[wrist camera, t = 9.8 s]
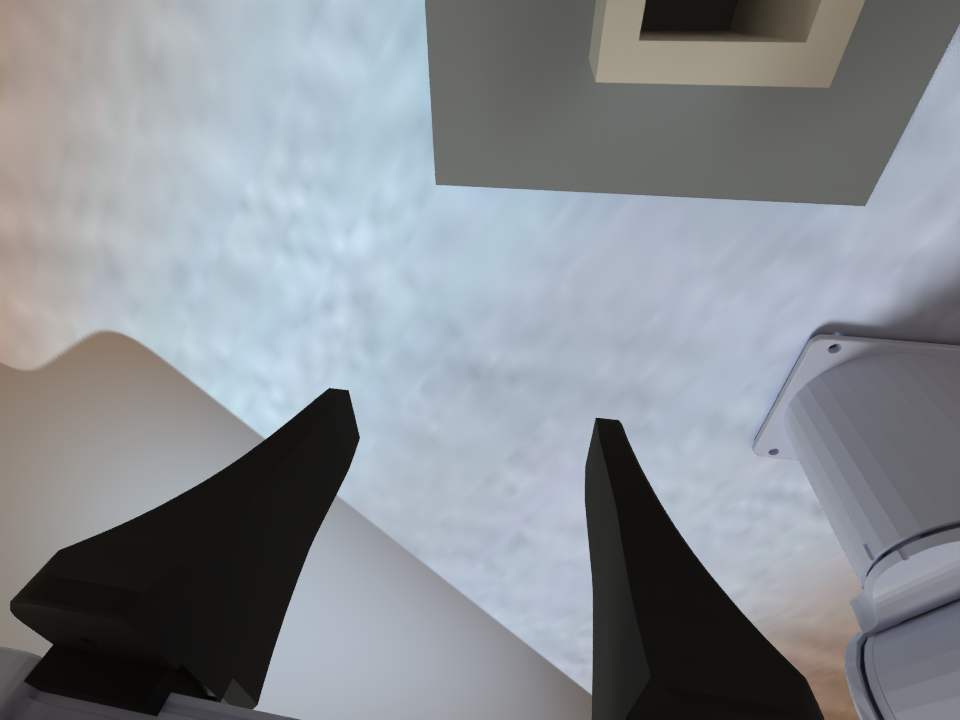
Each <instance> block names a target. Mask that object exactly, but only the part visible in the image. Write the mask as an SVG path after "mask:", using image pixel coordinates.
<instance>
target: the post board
mask: <svg viewBox="0 0 960 720" xmlns="http://www.w3.org/2000/svg"><path fill="white" fill-rule="evenodd" d="M737 1H738V0H646V2H645V7H644V13H643V19H642V24H641V30H730V27H731V23H732V20H733V16H734V12H735V9H736V5H737ZM595 4H596V0H425V9H426V26H427V43H428V60H429V77H430V94H431V111H432V128H433V145H434V162H435V179H436V185H452V186H472V187H492V188H512V189H532V190H553V191H573V192H593V193H613V194H633V195H653V196H673V197H693V198H713V199H733V200H753V201H774V202H794V203H814V204H834V205H854V206H865V205H866V203H867V201H868V199H869V198H870V196H871V194H872V192H873V190H874V188H875V186H876V184H877V182H878V180H879V178H880V176H881V174H882V172H883V171H884V169H885V167H886V165H887V163H888V161H889V159H890V157H891V155H892V153H893V151H894V149H895V147H896V145H897V143H898V142H899V140H900V138H901V136H902V134H903V132H904V130H905V128H906V126H907V124H908V122H909V120H910V118H911V116H912V115H913V113H914V111H915V109H916V107H917V105H918V103H919V101H920V99H921V97H922V95H923V93H924V91H925V89H926V88H927V86H928V84H929V82H930V80H931V78H932V76H933V74H934V72H935V70H936V68H937V66H938V64H939V62H940V61H941V59H942V57H943V55H944V53H945V51H946V49H947V47H948V45H949V43H950V41H951V39H952V37H953V35H954V34H955V32H956V30H957V28H958V26H959V24H960V0H865V2H864V4H863V7H862V9H861V12H860V14H859V17H858V19H857V22H856V24H855V27H854V29H853V31H852V34H851V36H850V39H849V41H848V44H847V46H846V49H845V51H844V53H843V56H842V58H841V61H840V63H839V66H838V68H837V71H836V73H835V75H834V78H833V80H832V83H831V85H830V88H815V87H772V86H729V85H687V84H644V83H601V82H595V79H594V75H593V72H592V68H591V65H590V62H589V52H590V44H591V36H592V28H593V20H594V12H595Z"/></svg>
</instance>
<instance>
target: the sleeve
mask: <svg viewBox="0 0 960 720" xmlns="http://www.w3.org/2000/svg"><path fill="white" fill-rule="evenodd" d="M645 2H646V0H596V4H595V12H594V20H593V28H592V36H591V44H590V52H589V62H590V65H591V68H592V72H593V75H594V79H595V82H601V83H644V84H687V85H729V86H772V87H815V88H830V85H831V83H832V80H833V78H834V75H835V73H836V71H837V68H838V66H839V63H840V61H841V58H842V56H843V53H844V51H845V49H846V46H847V44H848V41H849V39H850V36H851V34H852V31H853V29H854V27H855V24H856V22H857V19H858V17H859V14H860V12H861V9H862V7H863V4H864V2H865V0H738V1H737V5H736V9H735V12H734V16H733V20H732V23H731V27H730V30H641V24H642V19H643V13H644V7H645Z"/></svg>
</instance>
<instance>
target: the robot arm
mask: <svg viewBox="0 0 960 720" xmlns="http://www.w3.org/2000/svg"><path fill="white" fill-rule="evenodd" d="M833 344H837V345H836V346H835V347H833V348H829V347H830V346H831V345H833ZM359 439H360V437H359V432H358V428H357V424H356V420H355V415H354V411H353V407H352V403H351V399H350V394H349V390H341V389H332V388H329V389H328V390H326V391H325V392H324V393H323V394H321V395H320V396H319V397H318V398H316V399H315V400H314V401H313V402H312V403H310V404H309V405H308V406H307V407H306V408H304V409H303V410H302V411H301V412H300V413H298V414H297V415H296V416H295V417H293V418H292V419H291V420H290V421H289V422H287V423H286V424H285V425H284V426H282V427H281V428H280V429H279V430H277V431H276V432H275V433H273V434H272V435H271V436H270V437H268V438H267V439H266V440H264V441H263V442H262V443H260V444H259V445H258V446H256V447H255V448H253V449H252V450H251V451H249V452H248V453H247V454H245V455H244V456H243V457H241V458H240V459H238V460H237V461H235V462H234V463H232V464H231V465H229V466H228V467H226V468H225V469H223V470H222V471H220V472H218V473H217V474H215V475H214V476H212V477H210V478H209V479H207V480H206V481H204V482H202V483H200V484H199V485H197V486H195V487H193V488H192V489H190V490H188V491H186V492H184V493H183V494H181V495H179V496H178V497H176V498H173V499H172V500H170V501H168V502H166V503H164V504H163V505H161V506H159V507H157V508H155V509H153V510H151V511H148V512H146V513H144V514H142V515H140V516H139V517H136V518H134V519H132V520H130V521H128V522H125V523H123V524H121V525H119V526H117V527H114V528H112V529H110V530H108V531H105V532H103V533H101V534H98V535H96V536H93V537H91V538H88V539H86V540H83V541H81V542H79V543H76V544H74V545H71V546H69V547H66V548H64V549H61V550H59V551H58V552H57V553H56V554H55V555H54V556H53V557H52V558H51V559H50V560H49V561H48V562H47V564H45V566H44V567H43V568H42V569H41V570H40V571H39V572H38V573H37V574H36V575H35V576H34V577H33V578H32V579H31V580H30V581H29V582H28V584H27V585H26V586H25V587H24V588H23V589H22V590H21V591H20V592H19V593H18V594H17V595H16V596H15V597H14V598H13V599H12V600H11V602H10V610H11V612H12V613H13V615H14V616H15V617H16V618H18V619H19V620H20V621H21V622H22V623H24V624H25V625H27V626H28V627H30V628H31V629H32V630H34V631H35V632H36V633H38V634H39V635H41V636H42V637H44V638H45V639H46V640H48V641H49V642H51V643H52V644H54V645H53V646H52V647H51V648H50V649H49V651H48V652H47V653H46V655H45V656H44V657H43V658H42V657H40V656H38V655H35V654H33V653H29V652H26V651H21V650H16V649H11V648H7V647H1V646H0V720H299V719H294V718H290V717H284V716H280V715H275V714H270V713H265V712H261V711H256V710H252V709H254V708H255V707H256V706H257V705H258V702H259V697H260V694H261V690H262V687H263V684H264V681H265V677H266V674H267V670H268V667H269V664H270V660H271V657H272V654H273V650H274V647H275V644H276V641H277V638H278V635H279V632H280V629H281V626H282V623H283V620H284V617H285V614H286V611H287V608H288V605H289V602H290V600H291V597H292V594H293V591H294V589H295V586H296V583H297V580H298V577H299V575H300V572H301V570H302V567H303V565H304V562H305V559H306V557H307V554H308V551H309V549H310V547H311V545H312V542H313V540H314V538H315V536H316V534H317V532H318V530H319V528H320V526H321V524H322V522H323V520H324V518H325V516H326V514H327V512H328V510H329V508H330V506H331V504H332V502H333V500H334V498H335V496H336V494H337V492H338V490H339V488H340V486H341V484H342V482H343V480H344V478H345V476H346V474H347V472H348V470H349V468H350V465H351V462H352V459H353V457H354V454H355V451H356V448H357V445H358V442H359ZM752 449H753V451H754V454H756V455H758V456H763V457H772V458H780V459H789V460H798V461H799V462H800V464H801V466H802V468H803V470H804V472H805V474H806V476H807V478H808V480H809V482H810V484H811V486H812V488H813V490H814V492H815V494H816V496H817V498H818V500H819V502H820V504H821V506H822V508H823V510H824V512H825V514H826V516H827V518H828V520H829V522H830V524H831V526H832V528H833V530H834V532H835V534H836V536H837V538H838V540H839V542H840V544H841V546H842V548H843V551H844V553H845V555H846V557H847V559H848V561H849V563H850V565H851V567H852V569H853V571H854V573H855V575H856V577H857V579H858V581H859V583H860V585H861V587H862V589H863V591H862V593H861V594H860V595H859V596H857V597H856V598H854V599H853V600H851V601H850V602H849V604H850V606H851V608H852V610H853V612H854V615H855V617H856V619H857V621H858V623H859V625H860V628H861V630H862V631H861V632H859V633H857V634H856V635H855V636H854V637H853V638H852V639H851V640H850V642H849V643H848V645H847V648H846V653H845V671H846V677H847V682H848V687H849V690H850V693H851V696H852V699H853V702H854V705H855V708H856V710H857V713H858V716H859V718H860V720H960V345H948V344H936V343H924V342H911V341H899V340H887V339H875V338H863V337H851V336H839V335H827V334H821V335H817V336H814V337H813V338H811V339H810V340H809V341H808V343H807V345H806V347H805V348H804V350H803V352H802V354H801V356H800V358H799V360H798V361H797V363H796V365H795V367H794V369H793V371H792V372H791V374H790V376H789V378H788V380H787V382H786V384H785V385H784V387H783V389H782V391H781V393H780V395H779V397H778V398H777V400H776V402H775V404H774V406H773V408H772V409H771V411H770V413H769V415H768V417H767V419H766V421H765V422H764V424H763V426H762V428H761V430H760V432H759V434H758V435H757V437H756V439H755V441H754V443H753V445H752ZM771 449H772V450H771ZM585 507H586V518H587V529H588V540H589V550H590V561H591V571H592V585H593V683H592V720H824V717H823V714H822V712H821V710H820V708H819V705H818V703H817V701H816V699H815V697H814V695H813V692H812V690H811V688H810V686H809V684H808V682H807V680H806V678H805V677H804V676H803V675H802V674H801V673H800V672H799V671H798V670H797V669H796V668H795V667H794V666H793V665H792V664H791V663H790V662H789V661H788V660H787V659H786V658H785V657H784V656H783V655H782V654H781V653H780V652H779V651H778V650H777V649H776V648H775V647H774V646H773V645H772V644H771V643H770V642H769V641H768V640H767V639H766V638H765V637H764V636H763V635H762V634H761V633H760V632H759V631H758V629H757V628H756V627H755V626H754V625H753V624H752V623H751V622H750V621H749V620H748V619H747V617H746V616H745V615H744V614H743V613H742V612H741V611H740V610H739V609H738V607H737V606H736V605H735V604H734V603H733V601H732V600H731V599H730V598H729V597H728V595H727V594H726V593H725V592H724V591H723V589H722V588H721V587H720V586H719V585H718V583H717V582H716V581H715V580H714V579H713V577H712V576H711V575H710V574H709V573H708V571H707V570H706V569H705V567H704V566H703V565H702V563H701V562H700V561H699V559H698V558H697V557H696V555H695V554H694V553H693V551H692V550H691V549H690V547H689V546H688V544H687V543H686V542H685V540H684V539H683V537H682V536H681V534H680V533H679V531H678V530H677V528H676V527H675V525H674V524H673V522H672V521H671V519H670V518H669V516H668V514H667V513H666V511H665V510H664V508H663V506H662V505H661V503H660V501H659V500H658V498H657V496H656V494H655V493H654V491H653V489H652V487H651V485H650V484H649V482H648V480H647V478H646V476H645V474H644V472H643V470H642V469H641V467H640V465H639V463H638V460H637V458H636V456H635V454H634V452H633V450H632V448H631V445H630V443H629V441H628V438H627V436H626V434H625V431H624V428H623V426H622V424H621V422H620V421H619V420H612V419H603V418H596V420H595V424H594V429H593V434H592V438H591V443H590V447H589V452H588V457H587V461H586V466H585Z"/></svg>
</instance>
